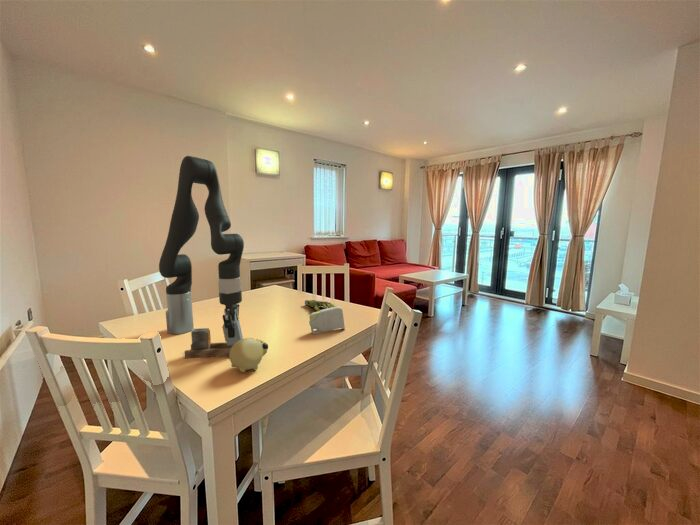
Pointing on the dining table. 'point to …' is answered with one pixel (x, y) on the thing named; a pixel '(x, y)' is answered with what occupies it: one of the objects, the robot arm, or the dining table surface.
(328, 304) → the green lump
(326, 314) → the grey rectangular slab
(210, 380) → the dining table surface
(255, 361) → the toy pig
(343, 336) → the dining table surface
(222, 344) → the rail
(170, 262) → the robot arm
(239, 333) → the grey rectangular block
